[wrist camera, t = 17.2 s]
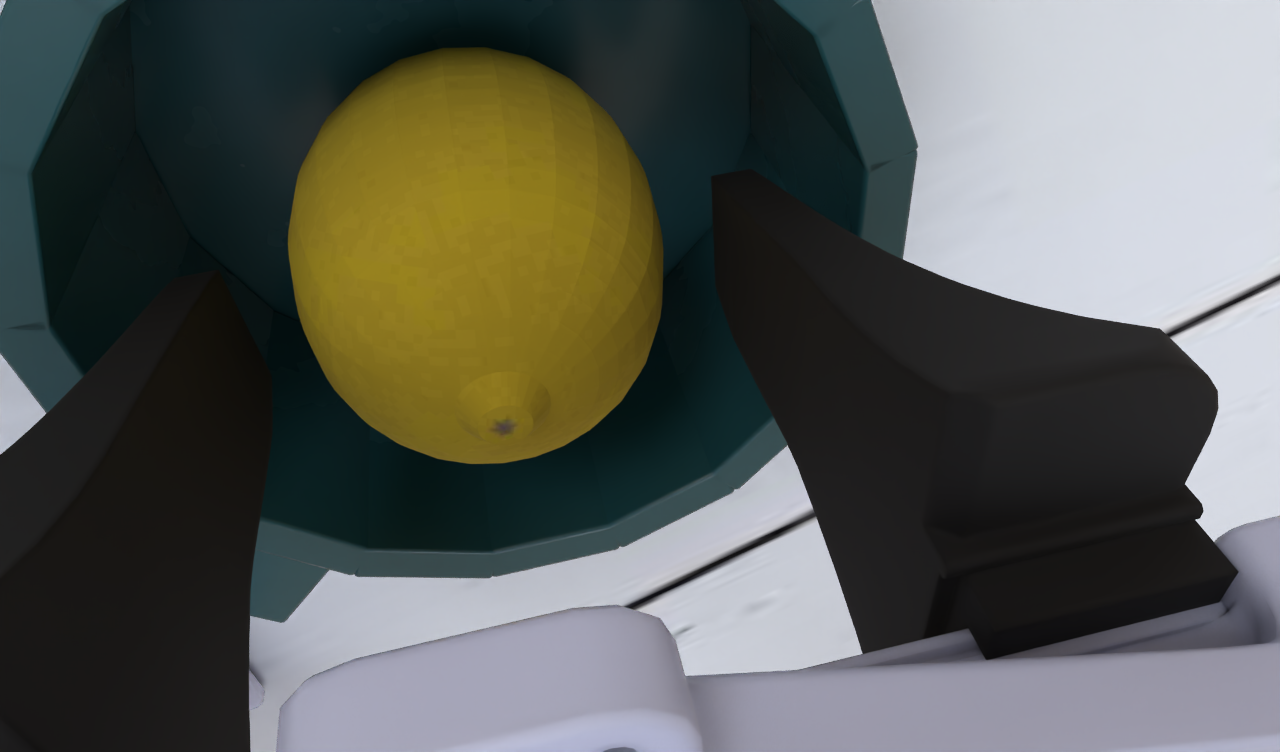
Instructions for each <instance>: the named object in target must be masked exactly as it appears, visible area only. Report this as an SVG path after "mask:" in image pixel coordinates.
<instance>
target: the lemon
mask: <svg viewBox="0 0 1280 752" xmlns="http://www.w3.org/2000/svg"><path fill="white" fill-rule="evenodd" d="M288 251H289V261H290V268H291V274H292V281H293V288H294V294H295V300H296V305H297V310H298V315H299V318H300V321H301V324H302V327H303V330H304V332H305V335H306V337H307V339H308V342H309V344H310V346H311V348H312V350H313V352H314V354H315V356H316V358H317V360H318V362H319V364H320V366H321V368H322V370H323V372H324V374H325V376H326V378H327V380H328V381H329V383H330V384H331V386H332V387H333V389H334V390H335V391H336V392H337V393H338V394H339V395H340V397H341V398H342V399H343V400H344V401H345V402H346V403H347V404H348V405H349V406H350V407H351V408H352V409H353V410H354V411H355V412H356V413H357V415H358V416H359V417H361V418H362V419H363V420H364V421H365V422H366V423H367V424H368V425H370V426H371V427H373V428H374V429H376V430H377V431H379V432H381V433H382V434H384V435H385V436H387V437H388V438H390V439H392V440H393V441H395V442H396V443H398V444H400V445H402V446H405V447H407V448H410V449H412V450H415V451H418V452H420V453H423V454H426V455H429V456H431V457H434V458H437V459H441V460H448V461H454V462H461V463H467V464H490V463H507V462H512V461H517V460H522V459H528V458H533V457H536V456H539V455H541V454H544V453H547V452H549V451H552V450H554V449H557V448H560V447H562V446H565V445H566V444H568V443H569V442H571V441H573V440H574V439H576V438H578V437H579V436H581V435H582V434H584V433H586V432H587V431H589V430H590V429H592V428H593V427H594V426H595V425H596V424H597V423H599V422H600V421H601V420H602V419H603V418H604V417H605V416H606V415H607V414H608V413H609V412H610V411H611V410H613V409H614V408H615V407H616V406H617V405H618V404H619V403H620V402H621V401H622V399H623V398H624V396H625V395H626V393H627V392H628V390H629V389H630V387H631V386H632V384H633V383H634V381H635V380H636V378H637V377H638V375H639V374H640V372H641V370H642V369H643V367H644V365H645V364H646V361H647V358H648V355H649V352H650V349H651V346H652V343H653V339H654V336H655V333H656V330H657V327H658V323H659V320H660V316H661V308H662V290H663V239H662V233H661V227H660V222H659V219H658V215H657V212H656V208H655V204H654V201H653V197H652V194H651V190H650V187H649V183H648V180H647V177H646V174H645V171H644V169H643V167H642V165H641V163H640V161H639V159H638V158H637V156H636V155H635V153H634V151H633V150H632V148H631V147H630V145H629V144H628V142H627V141H626V139H625V137H624V136H623V134H622V133H621V131H620V130H619V128H618V126H617V125H616V123H615V122H614V120H613V119H612V118H611V116H610V115H609V114H608V113H607V112H606V111H605V110H604V109H603V108H602V107H601V106H600V105H599V104H598V103H596V102H595V101H594V100H593V99H592V98H591V97H590V96H589V95H588V94H587V93H585V92H584V91H583V90H582V89H581V88H580V87H579V86H578V85H577V84H576V83H574V82H573V81H572V80H571V79H569V78H567V77H566V76H564V75H562V74H560V73H558V72H556V71H555V70H553V69H551V68H549V67H547V66H545V65H543V64H541V63H539V62H537V61H535V60H533V59H531V58H529V57H526V56H522V55H517V54H513V53H508V52H504V51H500V50H495V49H491V48H487V47H467V48H440V49H437V50H433V51H429V52H426V53H422V54H418V55H415V56H411V57H407V58H403V59H400V60H398V61H396V62H395V63H393V64H391V65H389V66H388V67H386V68H384V69H383V70H381V71H379V72H377V73H376V74H374V75H372V76H371V77H369V78H367V79H365V80H364V81H362V82H361V83H360V84H359V85H358V86H357V87H356V88H355V89H354V90H353V91H352V92H351V94H350V95H349V96H348V97H347V98H346V99H345V100H344V101H343V102H342V103H341V104H340V105H339V106H338V107H337V108H336V109H335V110H334V111H333V112H332V113H331V114H330V115H329V116H328V117H327V119H326V120H325V122H324V124H323V125H322V127H321V129H320V131H319V133H318V135H317V137H316V139H315V140H314V142H313V144H312V146H311V148H310V150H309V152H308V154H307V156H306V158H305V160H304V161H303V163H302V166H301V168H300V171H299V174H298V177H297V182H296V187H295V193H294V199H293V205H292V211H291V218H290V224H289V230H288Z"/></svg>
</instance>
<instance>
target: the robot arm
mask: <svg viewBox="0 0 1280 752" xmlns="http://www.w3.org/2000/svg"><path fill="white" fill-rule="evenodd" d="M711 187H712V213H713V239H714V266H715V287H716V290H717V293H718V296H719V299H720V302H721V305H722V307H723V310H724V313H725V316H726V319H727V322H728V325H729V328H730V330H731V333H732V336H733V339H734V341H735V343H736V345H737V347H738V349H739V351H740V353H741V355H742V357H743V359H744V361H745V363H746V364H747V366H748V368H749V370H750V372H751V374H752V376H753V378H754V380H755V382H756V384H757V386H758V388H759V390H760V392H761V394H762V396H763V398H764V400H765V402H766V403H767V405H768V407H769V409H770V411H771V413H772V415H773V417H774V419H775V421H776V423H777V425H778V427H779V429H780V431H781V433H782V434H783V436H784V438H785V440H786V442H787V444H788V447H789V449H790V451H791V453H792V455H793V458H794V460H795V462H796V464H797V466H798V469H799V472H800V474H801V477H802V480H803V482H804V485H805V488H806V490H807V493H808V496H809V498H810V501H811V504H812V506H813V509H814V512H815V514H816V517H817V520H818V523H819V525H820V528H821V531H822V534H823V537H824V539H825V542H826V545H827V548H828V551H829V554H830V556H831V559H832V562H833V565H834V568H835V570H836V573H837V576H838V579H839V582H840V585H841V588H842V591H843V594H844V597H845V600H846V603H847V607H848V610H849V613H850V616H851V619H852V622H853V625H854V628H855V631H856V634H857V637H858V640H859V643H860V647H861V650H862V653H863V654H861V655H857V656H853V657H849V658H845V659H841V660H837V661H833V662H829V663H824V664H820V665H816V666H812V667H808V668H804V669H800V670H790V671H772V672H753V673H734V674H716V675H697V676H685V673H684V670H683V666H682V662H681V659H680V655H679V651H678V648H677V644H676V641H675V639H674V638H673V636H672V635H671V633H670V632H669V630H668V629H667V628H666V626H665V625H664V623H663V622H662V620H661V619H660V618H657V617H655V616H652V615H649V614H646V613H642V612H639V611H636V610H632V609H629V608H626V607H622V606H619V605H607V606H595V607H582V608H571V609H567V610H563V611H558V612H554V613H550V614H545V615H541V616H537V617H532V618H528V619H524V620H520V621H515V622H511V623H507V624H502V625H498V626H494V627H489V628H485V629H481V630H477V631H472V632H468V633H464V634H459V635H455V636H451V637H446V638H442V639H438V640H434V641H429V642H425V643H421V644H416V645H412V646H408V647H403V648H399V649H395V650H390V651H386V652H382V653H378V654H373V655H369V656H365V657H360V658H356V659H353V660H351V661H348V662H346V663H343V664H341V665H338V666H336V667H333V668H331V669H328V670H326V671H323V672H321V673H318V674H316V675H313V676H312V677H310V678H309V679H307V680H306V681H304V682H303V684H302V685H301V686H300V687H299V688H298V689H297V690H296V691H295V692H294V693H293V695H292V696H291V697H290V698H289V699H288V700H287V701H286V702H285V703H284V704H283V705H282V707H281V708H280V714H279V725H278V736H277V747H276V752H1280V516H1277V517H1272V518H1268V519H1264V520H1260V521H1256V522H1252V523H1248V524H1244V525H1241V526H1239V527H1236V528H1233V529H1231V530H1229V531H1228V532H1226V533H1225V534H1223V535H1222V536H1220V537H1219V538H1217V540H1216V541H1215V542H1213V541H1212V539H1211V538H1210V537H1209V536H1208V535H1207V534H1206V532H1205V531H1204V530H1203V529H1202V528H1201V526H1200V525H1199V524H1198V523H1197V522H1196V521H1195V519H1199V518H1200V517H1201V515H1202V513H1203V507H1202V504H1201V502H1200V501H1199V500H1198V499H1197V498H1196V497H1195V495H1194V494H1193V493H1192V492H1191V491H1190V490H1189V489H1188V487H1187V486H1186V485H1185V482H1186V480H1187V478H1188V476H1189V474H1190V472H1191V470H1192V468H1193V466H1194V464H1195V462H1196V460H1197V458H1198V456H1199V454H1200V452H1201V450H1202V449H1203V447H1204V445H1205V443H1206V441H1207V439H1208V437H1209V435H1210V432H1211V429H1212V426H1213V423H1214V421H1215V418H1216V415H1217V411H1218V390H1217V389H1216V387H1215V386H1214V384H1213V382H1212V381H1211V379H1210V378H1209V376H1208V375H1207V374H1206V373H1205V372H1204V371H1203V370H1202V369H1201V368H1200V367H1199V366H1198V365H1197V364H1196V363H1195V362H1194V361H1193V360H1192V359H1191V358H1190V357H1189V356H1188V355H1187V354H1186V353H1185V352H1184V351H1183V350H1182V349H1181V348H1180V347H1179V346H1178V345H1177V344H1176V343H1174V342H1173V341H1172V340H1171V339H1170V338H1169V337H1168V336H1167V335H1166V334H1165V333H1164V332H1163V331H1162V330H1161V329H1158V328H1152V327H1145V326H1139V325H1133V324H1126V323H1120V322H1113V321H1107V320H1101V319H1094V318H1088V317H1083V316H1078V315H1073V314H1069V313H1064V312H1060V311H1055V310H1051V309H1047V308H1042V307H1038V306H1034V305H1030V304H1026V303H1022V302H1019V301H1015V300H1011V299H1008V298H1004V297H1001V296H998V295H995V294H992V293H989V292H986V291H982V290H979V289H976V288H973V287H970V286H967V285H964V284H961V283H959V282H956V281H953V280H950V279H948V278H945V277H942V276H940V275H938V274H935V273H933V272H931V271H928V270H926V269H923V268H921V267H919V266H916V265H914V264H912V263H909V262H907V261H905V260H903V259H901V258H898V257H896V256H894V255H892V254H890V253H888V252H886V251H884V250H882V249H881V248H879V247H877V246H875V245H873V244H871V243H869V242H867V241H865V240H864V239H862V238H860V237H858V236H856V235H854V234H853V233H851V232H849V231H848V230H846V229H844V228H842V227H841V226H839V225H837V224H836V223H834V222H832V221H831V220H829V219H828V218H826V217H824V216H823V215H821V214H820V213H818V212H816V211H815V210H813V209H812V208H810V207H809V206H807V205H805V204H804V203H802V202H801V201H799V200H798V199H796V198H795V197H793V196H792V195H790V194H789V193H787V192H786V191H784V190H783V189H781V188H780V187H779V186H777V185H776V184H774V183H773V182H771V181H770V180H768V179H767V178H765V177H764V176H762V175H760V174H759V173H757V172H756V171H754V170H752V169H746V170H740V171H735V172H730V173H724V174H719V175H714V176H711ZM272 425H273V403H272V375H271V373H270V371H269V369H268V367H267V365H266V363H265V361H264V359H263V357H262V355H261V353H260V351H259V349H258V347H257V345H256V343H255V341H254V339H253V337H252V335H251V333H250V331H249V329H248V327H247V325H246V323H245V321H244V319H243V317H242V315H241V313H240V311H239V309H238V307H237V305H236V303H235V301H234V299H233V297H232V295H231V293H230V291H229V289H228V287H227V285H226V283H225V281H224V279H223V278H222V276H221V274H220V272H219V270H214V271H208V272H203V273H198V274H193V275H187V276H182V277H177V278H174V279H173V280H172V281H171V282H170V283H169V284H168V285H167V286H166V287H165V288H164V289H163V290H162V291H161V292H160V293H159V294H158V295H157V296H156V297H155V298H154V299H153V300H152V301H151V303H150V304H149V305H148V306H147V307H146V308H145V309H144V310H143V311H142V313H141V314H140V315H139V316H138V317H137V318H136V319H135V320H134V322H133V323H132V324H131V325H130V326H129V327H128V328H127V330H126V331H125V332H124V333H123V334H122V335H121V336H120V337H119V338H118V340H117V341H116V342H115V343H114V344H113V345H112V346H111V347H110V348H109V349H108V351H107V352H106V353H105V354H104V355H103V356H102V357H101V358H100V359H99V361H98V362H97V363H96V364H95V365H94V366H93V367H92V368H91V369H90V370H89V371H88V372H87V373H86V374H85V375H84V376H83V377H82V378H81V379H80V380H79V381H78V382H77V383H76V384H75V385H74V386H73V387H72V389H71V390H70V391H69V392H68V393H67V394H66V395H65V396H64V397H63V398H62V399H61V400H60V401H59V402H58V403H57V404H56V405H55V406H54V407H53V408H52V409H51V410H50V411H49V412H48V413H47V414H46V415H45V416H44V417H43V418H42V419H41V420H39V421H38V422H37V423H36V424H35V425H34V426H33V427H32V428H31V429H30V430H29V431H28V432H26V433H25V434H24V435H23V436H22V437H21V438H20V439H19V440H17V441H16V442H15V443H14V444H13V445H12V446H10V447H9V448H8V449H7V450H6V451H5V452H3V453H2V454H1V455H0V752H250V720H249V710H252V709H255V708H257V707H259V706H260V705H261V704H262V703H263V701H264V693H265V691H264V688H263V687H262V685H261V684H260V683H259V682H258V680H257V679H256V678H255V676H254V675H253V674H252V672H251V671H250V670H249V632H250V595H251V581H252V571H253V561H254V554H255V548H256V541H257V535H258V528H259V522H260V515H261V509H262V502H263V496H264V489H265V483H266V476H267V469H268V462H269V456H270V449H271V441H272Z"/></svg>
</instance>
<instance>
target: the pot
mask: <svg viewBox="0 0 1280 752" xmlns="http://www.w3.org/2000/svg"><path fill="white" fill-rule="evenodd" d="M467 47H487V48H491V49H495V50H500V51H504V52H508V53H513V54H517V55H522V56H526V57H529V58H531V59H533V60H535V61H537V62H539V63H541V64H543V65H545V66H547V67H549V68H551V69H553V70H555V71H556V72H558V73H560V74H562V75H564V76H566V77H567V78H569V79H571V80H572V81H573V82H574V83H576V84H577V85H578V86H579V87H580V88H581V89H582V90H583V91H584V92H585V93H587V94H588V95H589V96H590V97H591V98H592V99H593V100H594V101H595V102H596V103H598V104H599V105H600V106H601V107H602V108H603V109H604V110H605V111H606V112H607V113H608V114H609V115H610V116H611V118H612V119H613V120H614V122H615V123H616V125H617V126H618V128H619V130H620V131H621V133H622V134H623V136H624V137H625V139H626V141H627V142H628V144H629V145H630V147H631V148H632V150H633V151H634V153H635V155H636V156H637V158H638V159H639V161H640V163H641V165H642V167H643V169H644V171H645V174H646V177H647V180H648V183H649V187H650V190H651V194H652V197H653V201H654V204H655V208H656V212H657V215H658V219H659V222H660V227H661V233H662V239H663V290H662V308H661V316H660V320H659V323H658V327H657V330H656V333H655V336H654V339H653V343H652V346H651V349H650V352H649V355H648V358H647V361H646V364H645V365H644V367H643V369H642V370H641V372H640V374H639V375H638V377H637V378H636V380H635V381H634V383H633V384H632V386H631V387H630V389H629V390H628V392H627V393H626V395H625V396H624V398H623V399H622V401H621V402H620V403H619V404H618V405H617V406H616V407H615V408H614V409H613V410H611V411H610V412H609V413H608V414H607V415H606V416H605V417H604V418H603V419H602V420H601V421H600V422H599V423H597V424H596V425H595V426H594V427H593V428H592V429H590V430H589V431H587V432H586V433H584V434H582V435H581V436H579V437H578V438H576V439H574V440H573V441H571V442H569V443H568V444H566V445H565V446H562V447H560V448H557V449H554V450H552V451H549V452H547V453H544V454H541V455H539V456H536V457H533V458H528V459H522V460H517V461H512V462H507V463H490V464H467V463H461V462H454V461H448V460H441V459H437V458H434V457H431V456H429V455H426V454H423V453H420V452H418V451H415V450H412V449H410V448H407V447H405V446H402V445H400V444H398V443H396V442H395V441H393V440H392V439H390V438H388V437H387V436H385V435H384V434H382V433H381V432H379V431H377V430H376V429H374V428H373V427H371V426H370V425H368V424H367V423H366V422H365V421H364V420H363V419H362V418H361V417H359V416H358V415H357V413H356V412H355V411H354V410H353V409H352V408H351V407H350V406H349V405H348V404H347V403H346V402H345V401H344V400H343V399H342V398H341V397H340V395H339V394H338V393H337V392H336V391H335V390H334V389H333V387H332V386H331V384H330V383H329V381H328V380H327V378H326V376H325V374H324V372H323V370H322V368H321V366H320V364H319V362H318V360H317V358H316V356H315V354H314V352H313V350H312V348H311V346H310V344H309V342H308V339H307V337H306V335H305V332H304V330H303V327H302V324H301V321H300V318H299V315H298V310H297V305H296V300H295V294H294V288H293V281H292V274H291V268H290V261H289V251H288V230H289V224H290V218H291V211H292V205H293V199H294V193H295V187H296V182H297V177H298V174H299V171H300V168H301V166H302V163H303V161H304V160H305V158H306V156H307V154H308V152H309V150H310V148H311V146H312V144H313V142H314V140H315V139H316V137H317V135H318V133H319V131H320V129H321V127H322V125H323V124H324V122H325V120H326V119H327V117H328V116H329V115H330V114H331V113H332V112H333V111H334V110H335V109H336V108H337V107H338V106H339V105H340V104H341V103H342V102H343V101H344V100H345V99H346V98H347V97H348V96H349V95H350V94H351V92H352V91H353V90H354V89H355V88H356V87H357V86H358V85H359V84H360V83H361V82H362V81H364V80H365V79H367V78H369V77H371V76H372V75H374V74H376V73H377V72H379V71H381V70H383V69H384V68H386V67H388V66H389V65H391V64H393V63H395V62H396V61H398V60H400V59H403V58H407V57H411V56H415V55H418V54H422V53H426V52H429V51H433V50H437V49H440V48H467ZM917 148H918V144H917V141H916V138H915V134H914V131H913V128H912V125H911V122H910V119H909V116H908V113H907V110H906V107H905V104H904V101H903V97H902V94H901V91H900V88H899V85H898V82H897V79H896V76H895V73H894V70H893V67H892V64H891V61H890V57H889V54H888V51H887V48H886V45H885V42H884V39H883V36H882V33H881V30H880V27H879V24H878V20H877V17H876V14H875V11H874V8H873V5H872V2H871V0H6V3H5V5H4V8H3V10H2V13H1V15H0V353H1V355H2V356H3V357H4V359H5V360H6V361H7V363H8V364H9V365H10V366H11V368H12V369H13V370H14V372H15V373H16V374H17V376H18V377H19V378H20V379H21V381H22V382H23V383H24V385H25V386H26V387H27V388H28V390H29V391H30V392H31V394H32V395H33V396H34V398H35V399H36V400H37V401H38V403H39V404H40V405H41V407H42V408H43V409H44V411H45V412H46V413H48V412H49V411H50V410H51V409H52V408H53V407H54V406H55V405H56V404H57V403H58V402H59V401H60V400H61V399H62V398H63V397H64V396H65V395H66V394H67V393H68V392H69V391H70V390H71V389H72V387H73V386H74V385H75V384H76V383H77V382H78V381H79V380H80V379H81V378H82V377H83V376H84V375H85V374H86V373H87V372H88V371H89V370H90V369H91V368H92V367H93V366H94V365H95V364H96V363H97V362H98V361H99V359H100V358H101V357H102V356H103V355H104V354H105V353H106V352H107V351H108V349H109V348H110V347H111V346H112V345H113V344H114V343H115V342H116V341H117V340H118V338H119V337H120V336H121V335H122V334H123V333H124V332H125V331H126V330H127V328H128V327H129V326H130V325H131V324H132V323H133V322H134V320H135V319H136V318H137V317H138V316H139V315H140V314H141V313H142V311H143V310H144V309H145V308H146V307H147V306H148V305H149V304H150V303H151V301H152V300H153V299H154V298H155V297H156V296H157V295H158V294H159V293H160V292H161V291H162V290H163V289H164V288H165V287H166V286H167V285H168V284H169V283H170V282H171V281H172V280H173V279H174V278H177V277H182V276H187V275H193V274H198V273H203V272H208V271H214V270H219V272H220V274H221V276H222V278H223V279H224V281H225V283H226V285H227V287H228V289H229V291H230V293H231V295H232V297H233V299H234V301H235V303H236V305H237V307H238V309H239V311H240V313H241V315H242V317H243V319H244V321H245V323H246V325H247V327H248V329H249V331H250V333H251V335H252V337H253V339H254V341H255V343H256V345H257V347H258V349H259V351H260V353H261V355H262V357H263V359H264V361H265V363H266V365H267V367H268V369H269V371H270V373H271V375H272V403H273V425H272V441H271V449H270V456H269V462H268V469H267V476H266V483H265V489H264V496H263V502H262V509H261V515H260V522H259V528H258V535H257V541H256V548H255V554H254V561H253V571H252V581H251V595H250V616H253V617H258V618H262V619H267V620H271V621H275V622H280V623H282V622H285V621H286V620H287V619H288V618H289V616H290V615H291V614H292V613H293V612H294V611H295V609H296V608H297V607H298V606H299V605H300V604H301V602H302V601H303V600H304V599H305V598H306V597H307V595H308V594H309V593H310V592H311V591H312V590H313V588H314V587H315V586H316V585H317V584H318V582H319V581H320V580H321V579H322V578H323V577H324V575H325V574H326V573H327V572H328V571H329V570H333V571H337V572H340V573H344V574H348V575H353V574H355V576H357V577H423V578H491V577H492V576H495V577H497V576H502V575H506V574H510V573H515V572H519V571H524V570H528V569H533V568H537V567H541V566H546V565H550V564H555V563H559V562H563V561H568V560H572V559H577V558H581V557H586V556H590V555H594V554H599V553H603V552H608V551H612V550H616V549H618V548H619V546H621V547H624V546H627V545H629V544H631V543H633V542H635V541H637V540H639V539H641V538H643V537H645V536H647V535H649V534H651V533H653V532H655V531H657V530H659V529H661V528H663V527H665V526H667V525H669V524H671V523H673V522H675V521H677V520H679V519H681V518H683V517H685V516H687V515H689V514H691V513H693V512H695V511H697V510H699V509H701V508H703V507H705V506H707V505H709V504H711V503H713V502H715V501H717V500H719V499H721V498H723V497H725V496H727V495H729V494H731V493H732V492H733V491H734V489H739V488H740V487H741V486H742V485H744V484H745V483H746V482H747V481H748V480H749V479H750V478H751V477H752V476H754V475H755V474H756V473H757V472H758V471H759V470H760V469H761V468H762V467H764V466H765V465H766V464H767V463H768V462H769V461H770V460H771V459H773V458H774V457H775V456H776V455H777V454H778V453H779V452H780V451H781V450H783V449H784V448H785V447H786V446H787V445H788V444H787V442H786V440H785V438H784V436H783V434H782V433H781V431H780V429H779V427H778V425H777V423H776V421H775V419H774V417H773V415H772V413H771V411H770V409H769V407H768V405H767V403H766V402H765V400H764V398H763V396H762V394H761V392H760V390H759V388H758V386H757V384H756V382H755V380H754V378H753V376H752V374H751V372H750V370H749V368H748V366H747V364H746V363H745V361H744V359H743V357H742V355H741V353H740V351H739V349H738V347H737V345H736V343H735V341H734V339H733V336H732V333H731V330H730V328H729V325H728V322H727V319H726V316H725V313H724V310H723V307H722V305H721V302H720V299H719V296H718V293H717V290H716V287H715V266H714V239H713V213H712V187H711V176H714V175H719V174H724V173H730V172H735V171H740V170H746V169H752V170H754V171H756V172H757V173H759V174H760V175H762V176H764V177H765V178H767V179H768V180H770V181H771V182H773V183H774V184H776V185H777V186H779V187H780V188H781V189H783V190H784V191H786V192H787V193H789V194H790V195H792V196H793V197H795V198H796V199H798V200H799V201H801V202H802V203H804V204H805V205H807V206H809V207H810V208H812V209H813V210H815V211H816V212H818V213H820V214H821V215H823V216H824V217H826V218H828V219H829V220H831V221H832V222H834V223H836V224H837V225H839V226H841V227H842V228H844V229H846V230H848V231H849V232H851V233H853V234H854V235H856V236H858V237H860V238H862V239H864V240H865V241H867V242H869V243H871V244H873V245H875V246H877V247H879V248H881V249H882V250H884V251H886V252H888V253H890V254H892V255H894V256H896V257H898V258H901V259H903V254H904V246H905V239H906V232H907V225H908V218H909V210H910V203H911V196H912V189H913V181H914V174H915V167H916V160H917V150H916V149H917Z"/></svg>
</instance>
